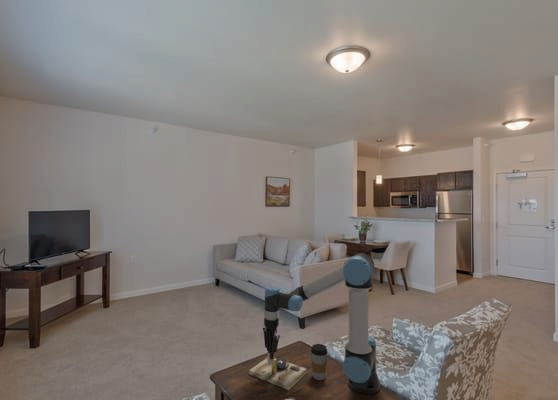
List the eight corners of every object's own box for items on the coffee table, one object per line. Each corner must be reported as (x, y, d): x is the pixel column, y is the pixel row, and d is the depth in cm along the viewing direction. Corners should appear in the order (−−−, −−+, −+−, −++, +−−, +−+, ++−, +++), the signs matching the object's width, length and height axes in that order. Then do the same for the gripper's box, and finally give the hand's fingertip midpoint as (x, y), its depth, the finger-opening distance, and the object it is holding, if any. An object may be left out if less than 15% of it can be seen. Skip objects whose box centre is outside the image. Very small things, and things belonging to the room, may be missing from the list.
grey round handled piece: (277, 359, 162) (278, 346, 162) (292, 363, 157) (292, 350, 158) (265, 371, 149) (265, 358, 150) (280, 376, 145) (280, 362, 145)
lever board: (306, 372, 154) (306, 365, 154) (289, 390, 139) (289, 382, 139) (269, 359, 167) (269, 353, 167) (249, 374, 152) (249, 367, 152)
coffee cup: (326, 382, 145) (327, 351, 145) (310, 380, 147) (310, 350, 147) (327, 373, 153) (327, 344, 154) (311, 371, 155) (311, 342, 155)
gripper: (258, 315, 154) (257, 360, 154) (272, 323, 144) (270, 372, 143) (270, 312, 159) (269, 356, 158) (284, 320, 148) (283, 367, 148)
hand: (270, 363), depth 151 cm, fingers closed
